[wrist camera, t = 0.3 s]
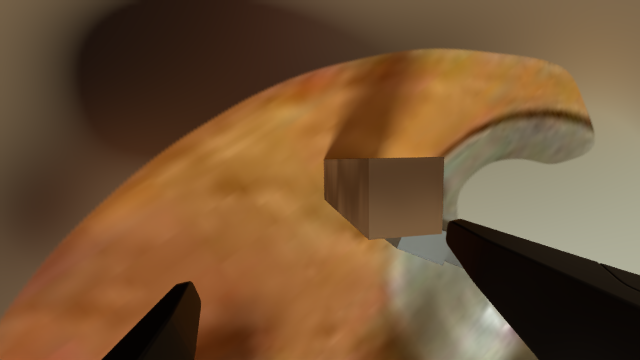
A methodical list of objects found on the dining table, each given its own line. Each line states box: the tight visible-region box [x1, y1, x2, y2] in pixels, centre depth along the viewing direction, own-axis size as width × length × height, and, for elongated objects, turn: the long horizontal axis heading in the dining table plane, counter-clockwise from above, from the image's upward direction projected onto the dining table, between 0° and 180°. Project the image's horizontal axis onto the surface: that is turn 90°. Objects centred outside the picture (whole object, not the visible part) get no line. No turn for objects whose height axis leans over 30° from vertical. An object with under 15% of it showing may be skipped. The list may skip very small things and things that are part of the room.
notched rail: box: [385, 230, 463, 268], centre depth 24 cm, size 3×16×4 cm, turn 67°
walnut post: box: [324, 157, 444, 240], centre depth 18 cm, size 4×4×12 cm
